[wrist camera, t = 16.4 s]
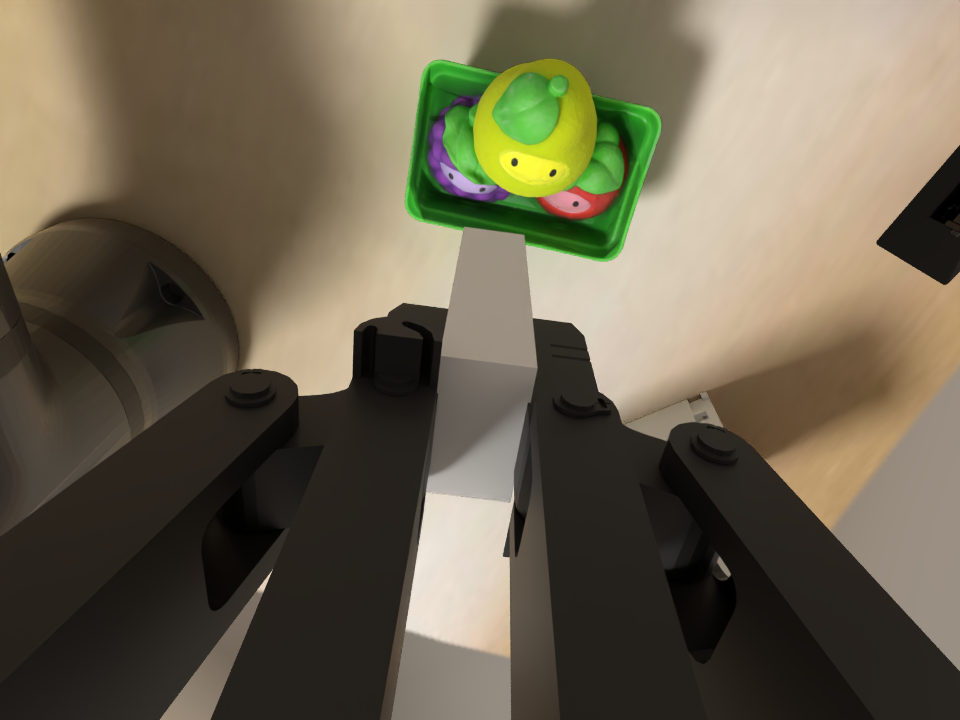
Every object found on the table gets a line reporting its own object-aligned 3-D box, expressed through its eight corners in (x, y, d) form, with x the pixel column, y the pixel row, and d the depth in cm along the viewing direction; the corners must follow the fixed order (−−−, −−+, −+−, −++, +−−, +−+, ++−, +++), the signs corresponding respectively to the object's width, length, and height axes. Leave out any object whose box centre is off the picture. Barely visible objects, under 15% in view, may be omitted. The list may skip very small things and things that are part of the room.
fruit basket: (417, 194, 36) (374, 261, 26) (442, 25, 31) (402, 27, 21) (606, 235, 36) (635, 316, 26) (656, 73, 32) (714, 97, 22)
